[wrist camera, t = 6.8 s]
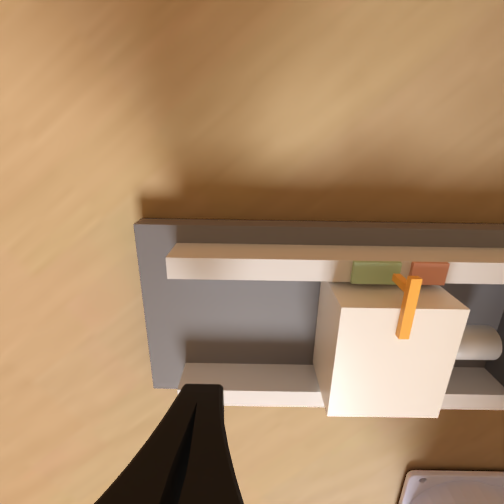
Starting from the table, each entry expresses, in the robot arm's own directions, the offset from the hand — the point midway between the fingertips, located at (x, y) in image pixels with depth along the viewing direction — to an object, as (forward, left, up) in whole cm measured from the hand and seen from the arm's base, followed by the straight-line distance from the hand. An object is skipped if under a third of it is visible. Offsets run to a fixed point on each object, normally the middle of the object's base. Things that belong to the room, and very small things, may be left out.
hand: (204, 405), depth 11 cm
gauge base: (-7, 0, -7) cm, 10 cm away
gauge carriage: (-9, -1, -6) cm, 11 cm away
